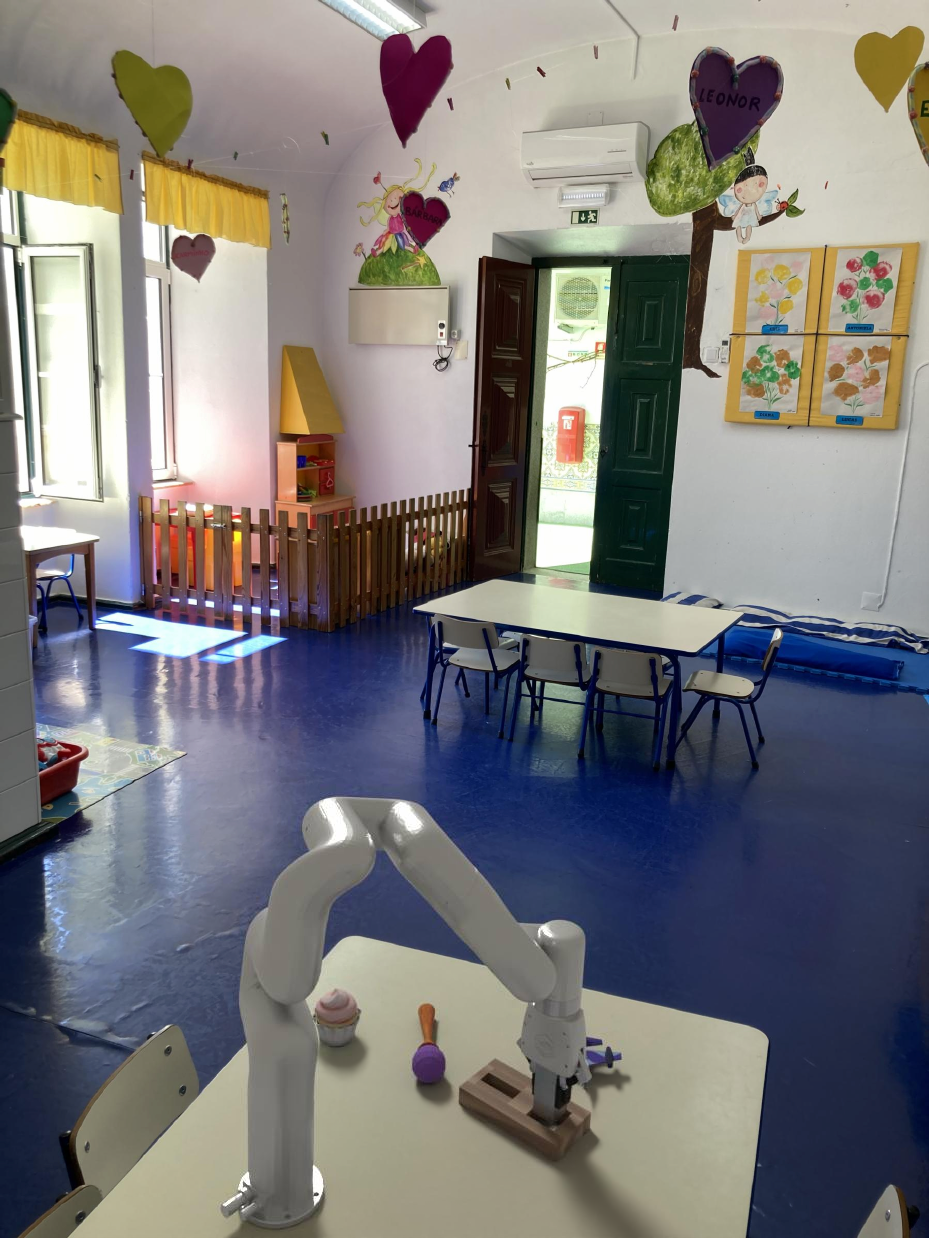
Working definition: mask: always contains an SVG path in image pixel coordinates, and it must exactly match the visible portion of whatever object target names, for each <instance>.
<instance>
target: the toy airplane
mask: <svg viewBox="0 0 929 1238" xmlns="http://www.w3.org/2000/svg"><path fill="white" fill-rule="evenodd" d="M597 1046H598V1047H599V1046H603V1039H601V1038H600V1039H599V1038H594V1037H590V1036H586V1048H588V1047H597ZM622 1057H623V1056H622V1052H618V1051H613V1050H612V1047H610V1046H606V1048H605V1050H597V1049H596V1050H595V1049H586V1057H585V1061H586V1064H587V1066H588V1068H589V1071H590V1070H591V1069H590V1067H591V1066H595V1065H600V1064H606V1067H607V1068H608V1069H613V1067H614V1062H617V1061H621V1060H622ZM590 1072H591V1071H590ZM581 1086H582V1087H583V1089H587V1087H588V1082H585V1083H581ZM585 1093H586V1096H587V1090H585Z"/></svg>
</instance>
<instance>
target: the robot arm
mask: <svg viewBox="0 0 929 1238" xmlns="http://www.w3.org/2000/svg"><path fill="white" fill-rule="evenodd" d="M301 827H302V828H301V832H302V837H303V840H304V843H305V845H306V847H307V848H308V852H305V853H304V854H302V855H301V856H300V857H298V858H297V859H295V860H294V861H292V863H291V864H289V865H288V866H287V867H286V868H285V869H284V870H283V871H282V872H281V873H280V874H279V875H278V876H277V878H276V880H275V881H274V883H273V885H272V888H271V890H270V891H271V892H270V895H269V900H268V904H267V907H265V908H264V909H262V910H261V911H260V912H259V913H258V914H257V915H256V916H255V917H254V918H253V919H252V921H251V923H250V925H249V926H248V928H247V932H246V934H245V935H246V936H245V940H244V949H243V955H242V956H243V957H242V965H241V973H240V981H239V994H238V1006H239V1012H240V1013H239V1014H240V1017H241V1022H242V1027H243V1031H244V1035H245V1040H246V1046H247V1052H248V1053H247V1054H248V1078H247V1094H246V1095H247V1172H246V1173H245V1175H244V1176H243V1177H242V1178H241V1180H240V1183H239V1185H238V1188H237V1193H236V1195H234V1196H233V1197H230V1198H229V1199H227V1200H225V1202H223V1203H222V1204H221V1205H220V1211H221V1214H222V1216H223V1217H224V1218H225V1219H228V1218H229V1217H231V1216H232V1215H234V1214H235V1213H236V1212H237V1211H239V1217H240V1220H242V1221H244V1222H245V1221H249V1222H251V1224H253V1225H255V1226H258V1227H262V1228H266V1229H283V1228H290V1227H292V1226H295V1225H298V1224H300V1223H302V1222H303V1221H305V1220H307V1219H308V1218H309V1217H311V1216H312V1215H313V1214H314V1213H315V1212H316V1210H317V1209H318V1208H319V1207H320V1205H321V1203H322V1200H323V1198H324V1190H325V1188H324V1187H325V1185H324V1179H323V1176H322V1173H321V1172H320V1170H319V1169H318V1167H316V1166H315V1165H314V1162H315V1161H314V1159H315V1158H314V1157H315V1155H314V1153H315V1152H314V1151H315V1148H314V1145H315V1143H314V1142H315V1081H316V1080H315V1079H316V1078H315V1077H316V1069H317V1063H318V1057H319V1038H318V1037H319V1036H318V1031H317V1027H316V1023H315V1022H314V1020H313V1018H312V1015H313V1014H312V1013H311V1010H310V1007H309V1005H308V1002H307V1001H306V999H307V998H308V997H309V996H310V995H311V994H312V993H313V991H314V990H315V989H316V987H317V985H318V983H319V980H320V977H321V974H322V966H323V954H324V949H325V940H326V939H325V938H326V931H327V925H328V920H329V913H330V911H331V907H332V906H333V904H334V902H336V901H337V899H339V897H341V896H342V895H343V894H345V893H346V892H348V891H350V890H351V889H352V888H355V887H356V886H357V885H359V884H360V883H361V882H363V881H364V880H365V879H366V878H367V877H368V876H369V874H370V873H371V872H372V869H373V868H374V865H375V862H376V858H377V853H376V852H377V851H385V852H386V854H387V855H388V857H389V859H390V861H391V863H393V866H395V868H396V869H397V870H398V872H399V873H400V874H401V876H402V877H404V878H405V879H406V881H408V883H409V884H410V885H411V886H412V887H413V888H414V889H415V890H416V891H417V892H418V893H419V894H420V895H421V896H422V898H423V899H424V900H425V901H427V903H428V904H429V905H430V906H431V907H432V908H433V910H435V912H436V913H437V914H438V915H439V916H440V917H441V918H442V919H443V920H444V922H446V924H447V925H448V926H449V927H450V928H451V930H452V931H453V932H454V933H455V934H456V936H458V937H459V939H460V940H461V941H463V942H464V944H465V945H466V946H467V947H469V948H470V950H472V952H473V953H474V954H475V955H476V956H477V957H478V959H479V960H480V961H481V962H482V963H483V965H485V967H486V968H487V969H488V970H489V971H490V972H491V973H492V974H493V976H494V977H496V979H498V981H499V982H500V983H501V984H502V985H503V986H504V987H505V988H506V989H507V990H508V991H509V993H510V994H511V995H512V996H513V997H515V998H516V999H517V1000H518V1001H520V1002H524V1003H526V1004H527V1006H526V1009H525V1013H524V1017H523V1020H522V1021H523V1023H522V1029H521V1034H520V1037H519V1038H518V1039H517V1040H516V1045H517V1047H518V1048H519V1049H520V1051H521V1053H522V1055H524V1057H525V1059H526V1060H527V1062H528V1064H529V1067H528V1069H529V1071H530V1072H531V1079H532V1095H534V1085H535V1069H536V1063H538V1064H539V1065H541V1066H543V1067H545V1068H547V1069H549V1070H550V1071H552V1072H554V1073H556V1074H558V1075H559V1079H560V1085H559V1086H558V1088H557V1097H556V1108H557V1109H558V1110H560V1109H561V1108H562V1107H563V1106H564V1105H565V1104H568V1103H569V1102H570V1101H572V1100H571V1099H572V1087H573V1086H574V1085H576V1084H583V1083H585V1082H587V1083H588V1082H589V1081H590V1080H591V1079H592V1078H593V1076H592V1073H591V1071H589V1069H590V1067H589V1068H588V1066H587V1064H586V1061H585V1057H586V1050H587V1047H586V1037H587V1027H586V1020H585V1019H586V1018H585V1013H584V1009H583V1008H582V1006H581V1004H582V992H583V981H584V966H585V951H586V934H585V932H584V930H583V929H582V927H580V926H579V925H577V924H576V923H574V922H572V921H570V920H564V919H555V920H549V921H548V922H544V923H528V922H527V923H525V922H518V921H517V920H516V919H515V917H514V916H513V914H511V912H510V911H509V909H508V908H507V906H506V904H504V902H503V900H502V899H501V897H500V896H499V895H498V893H497V892H496V890H495V889H494V888H493V886H492V885H491V884H490V883H489V881H488V880H487V879H486V878H485V877H484V875H483V874H482V873H481V872H480V871H479V870H478V869H477V868H476V866H474V865H473V863H472V862H471V861H470V860H469V859H468V858H467V857H466V855H465V854H464V853H463V851H461V849H459V848H458V847H457V845H456V844H455V843H454V842H453V840H452V839H451V838H449V836H448V835H447V833H445V832H444V830H443V829H442V828H441V827H440V826H439V825H438V823H437V822H436V821H435V820H434V819H433V817H432V816H431V815H430V814H429V812H428V810H426V808H424V807H423V806H422V805H420V804H419V803H416V802H413V801H410V800H405V799H395V798H379V797H378V798H377V797H376V798H375V797H355V796H354V797H352V796H351V797H350V796H331V797H326V798H324V799H321V800H318V801H317V802H316V803H315V802H314V804H313V805H311V806H310V808H309V809H308V810H307V811H306V813H305V814H304V817H303V819H302V826H301ZM576 1070H577V1071H576Z"/></svg>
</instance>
